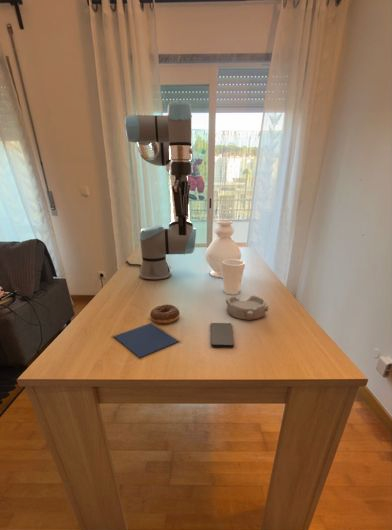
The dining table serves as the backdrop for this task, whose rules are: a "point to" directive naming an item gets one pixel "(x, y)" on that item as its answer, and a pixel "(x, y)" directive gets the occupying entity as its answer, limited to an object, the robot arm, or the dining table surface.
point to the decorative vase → (222, 248)
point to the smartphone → (221, 335)
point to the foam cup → (232, 275)
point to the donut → (164, 313)
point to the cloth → (145, 340)
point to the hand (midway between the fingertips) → (182, 234)
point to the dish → (247, 307)
